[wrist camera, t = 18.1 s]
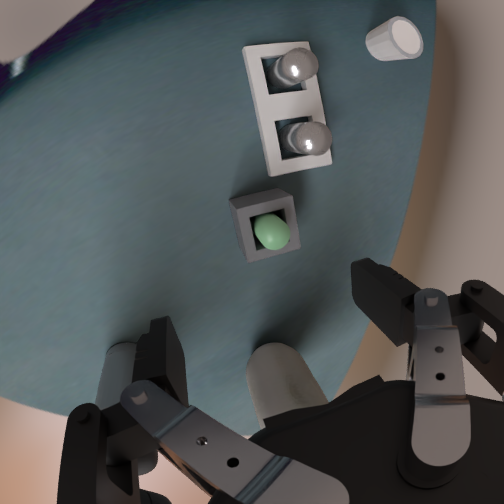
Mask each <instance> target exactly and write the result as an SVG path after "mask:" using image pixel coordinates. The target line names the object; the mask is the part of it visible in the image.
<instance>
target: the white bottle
mask: <svg viewBox="0 0 504 504" xmlns="http://www.w3.org/2000/svg"><path fill="white" fill-rule="evenodd" d="M246 379H247V384H248V388H249V391H250V394H251V398H252V401H253V404H254V408H255V412H256V415H257V418H258V422H259V425H260V428H261V429H263V428H265V424H264V421H263V419H264V418H267V417H271V416H274V415H277V414H280V413H283V412H286V411H289V410H292V409H298V408H305V407H312V406H318V405H324V404H327V403H329V402H328V400H327V398H326V396H325V395H324V393H323V391H322V389H321V388H320V386H319V384H318V383H317V381H316V380H315V378H314V377H313V375H312V373H311V371H310V370H309V368H308V366H307V364H306V363H305V361H304V359H303V358H302V357H301V355H300V354H299V353H298V352H297V351H296V350H295V349H293V348H291V347H289V346H287V345H285V344H282V343H267V344H265V345H262V346H261V347H259V348H257V349H256V350H255V351H254V352H253V354H252V355H251V357H250V359H249V361H248V363H247V367H246Z"/></svg>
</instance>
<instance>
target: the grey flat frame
mask: <svg viewBox="0 0 504 504" xmlns="http://www.w3.org/2000/svg"><path fill="white" fill-rule="evenodd" d="M298 47H301V48H306V49H308V50H310V46H309V42H308V41H307V42H287V43H274V44H263V45H254V46H246V47H244V48H243V49H242V53H243V57H244V62H245V66H246V71H247V75H248V80H249V84H250V89H251V93H252V98H253V103H254V107H255V112H256V117H257V122H258V127H259V131H260V136H261V141H262V146H263V151H264V156H265V161H266V166H267V171H268V175H269V176H271V177H273V176H277V175H282V174H286V173H291V172H296V171H300V170H305V169H310V168H315V167H320V166H325V165H330V164H332V159H331V152H330V148H329V150H328V151H327V152H326V153H324V154H323V155H319V156H314V155H308V154H306V155H301V156H295V157H290V158H285V159H282V158H281V153H280V148H279V142H278V137H277V132H276V127H275V122H274V121H278V120H284V119H290V118H297V117H304V116H308V121H309V122H315V121H316V122H321V123H323V124H325V125H326V122H325V117H324V111H323V106H322V101H321V96H320V91H319V86H318V81H317V76H316V74H315V75H314V76H313V77H312V78H310V79H307V80H305V81H302V82H301V86H302V90H303V91H294V92H286V93H279V94H271V95H269V93H268V89H267V84H266V79H265V75H264V70H263V66H262V62H261V59H270V58H280V57H282V56H283V55H285V54H286V53H288V52H289V51H290V50H292V49H294V48H298ZM310 51H311V50H310Z"/></svg>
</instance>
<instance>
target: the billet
mask: <svg viewBox="0 0 504 504" xmlns="http://www.w3.org/2000/svg"><path fill="white" fill-rule="evenodd" d="M279 142H280V145H281V146H282V147H283V149H285V150H286V151H289V152H295V153H301V154H308V155H314V156H319V155H323V154H324V153H326V152H327V151H328V150H329V148H330V147H331V144H332V134H331V132H330V130H329V128H328V127H327V126H326V125H325V124H323V123H321V122H316V121H315V122H304V123H294V124H288V125H286V126H284V127H283V128H282V129H281V131H280V133H279Z"/></svg>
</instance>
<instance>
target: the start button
mask: <svg viewBox="0 0 504 504" xmlns="http://www.w3.org/2000/svg"><path fill="white" fill-rule="evenodd" d="M250 223H251V228H252V231H253V232H254V234H255V235H256V236H257V238H258V239H259V240H260V241H261V243H262V244H263V245H264V246H265V247H266V248H268V249H270V250H278V249H281V248H283V247H284V246H285V245H286V244H287V243H288V241H289V239H290V229H289V227H288V225H287V224H286V223H285V222H284V221H282V220H281V219H280V218H279V217H278V216H276V215H275V214H274V213H273V212H267V213H263V214H259V215H255V216H252V217H250Z"/></svg>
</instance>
